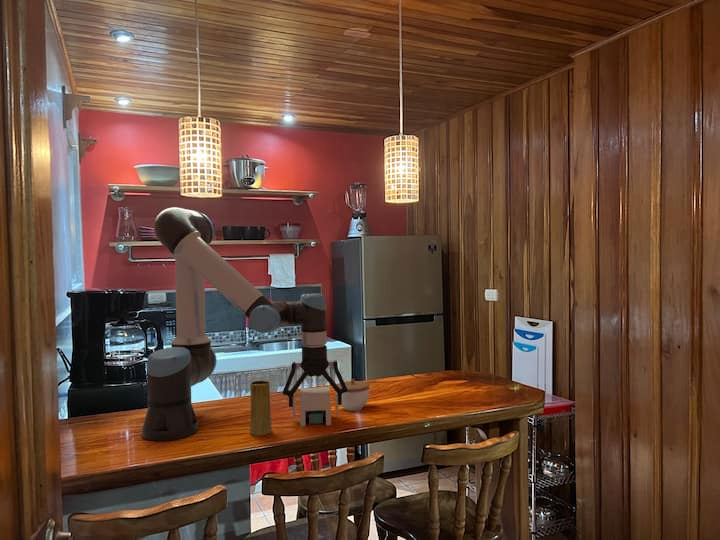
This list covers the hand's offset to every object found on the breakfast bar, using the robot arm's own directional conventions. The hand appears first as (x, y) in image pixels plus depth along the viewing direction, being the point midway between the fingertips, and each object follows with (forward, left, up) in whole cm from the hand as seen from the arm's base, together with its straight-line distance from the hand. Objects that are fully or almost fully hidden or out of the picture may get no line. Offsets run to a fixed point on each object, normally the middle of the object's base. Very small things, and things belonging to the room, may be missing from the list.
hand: (315, 416), depth 155 cm
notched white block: (0, 0, -1) cm, 1 cm away
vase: (-4, -17, -2) cm, 18 cm away
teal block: (0, 0, -2) cm, 2 cm away
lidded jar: (-1, +17, -2) cm, 17 cm away
